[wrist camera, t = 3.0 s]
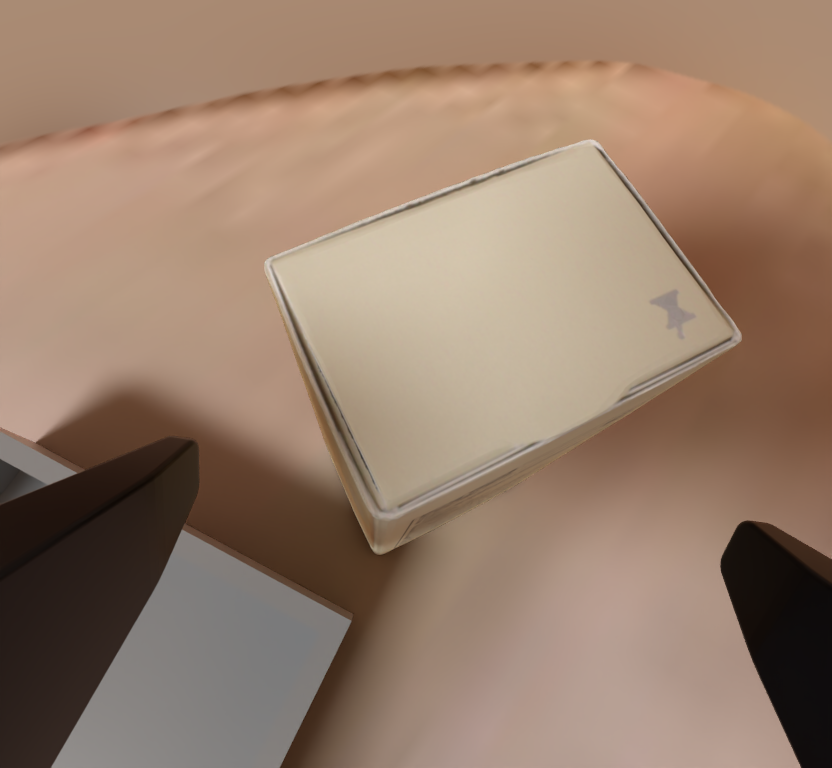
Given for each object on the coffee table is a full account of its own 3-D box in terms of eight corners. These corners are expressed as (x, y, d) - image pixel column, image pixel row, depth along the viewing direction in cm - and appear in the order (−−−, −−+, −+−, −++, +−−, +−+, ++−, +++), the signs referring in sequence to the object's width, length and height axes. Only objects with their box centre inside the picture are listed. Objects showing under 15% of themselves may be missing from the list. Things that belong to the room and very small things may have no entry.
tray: (353, 613, 17) (351, 620, 14) (109, 1109, 13) (25, 1285, 10) (34, 442, 18) (-38, 411, 15) (-293, 851, 14) (-494, 933, 11)
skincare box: (472, 378, 21) (611, 120, 9) (530, 480, 19) (772, 331, 8) (315, 448, 19) (247, 245, 8) (367, 564, 18) (377, 530, 6)
